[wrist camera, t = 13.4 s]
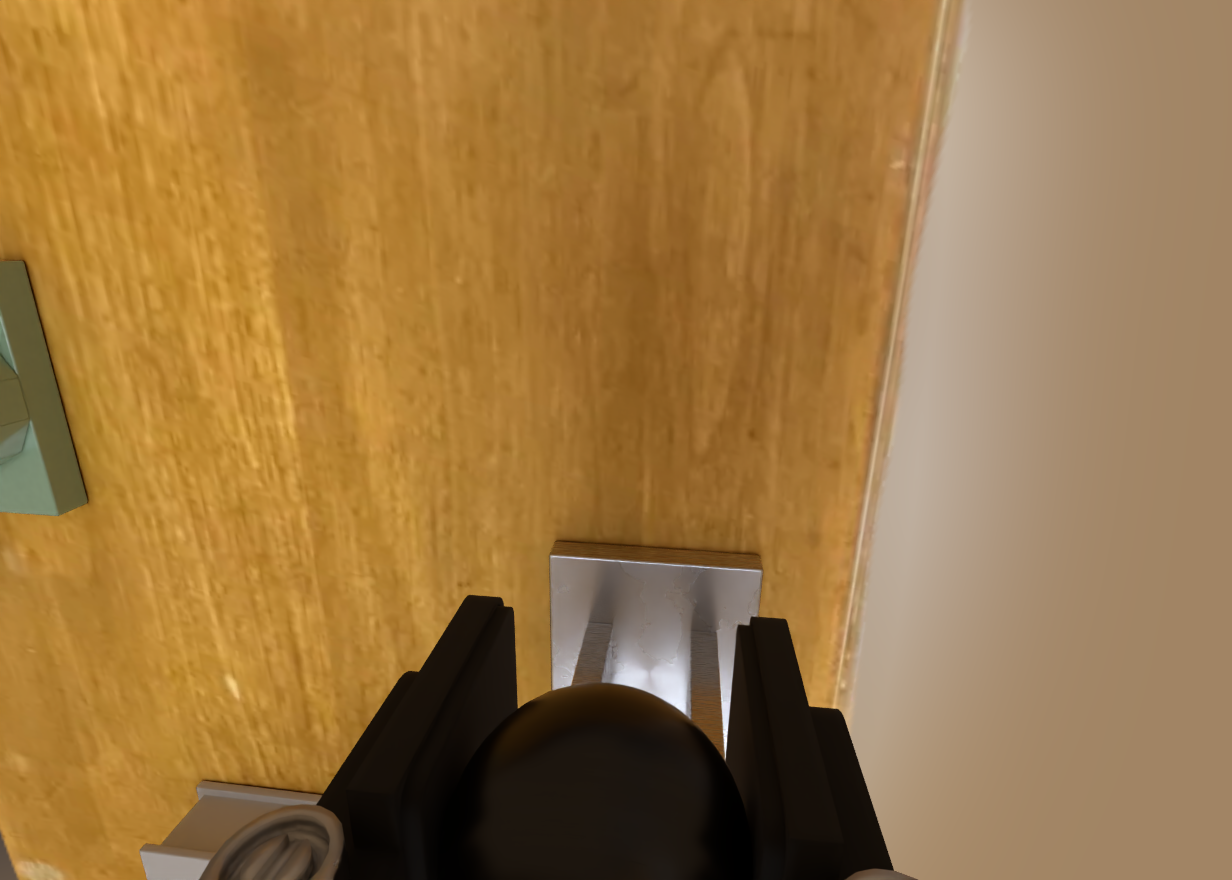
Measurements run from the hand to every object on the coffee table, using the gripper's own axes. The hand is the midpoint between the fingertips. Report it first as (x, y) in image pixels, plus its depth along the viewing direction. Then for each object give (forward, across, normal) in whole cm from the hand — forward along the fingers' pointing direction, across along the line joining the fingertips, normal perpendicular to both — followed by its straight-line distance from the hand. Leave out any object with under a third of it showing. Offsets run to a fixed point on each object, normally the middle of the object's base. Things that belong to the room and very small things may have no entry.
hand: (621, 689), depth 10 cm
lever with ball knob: (0, 0, +4) cm, 4 cm away
